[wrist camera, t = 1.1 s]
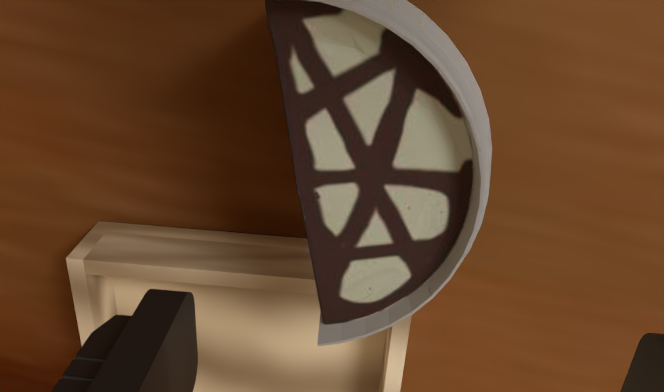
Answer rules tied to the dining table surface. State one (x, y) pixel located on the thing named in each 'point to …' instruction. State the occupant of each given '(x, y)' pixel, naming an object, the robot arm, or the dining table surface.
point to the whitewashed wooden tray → (233, 307)
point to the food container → (380, 155)
